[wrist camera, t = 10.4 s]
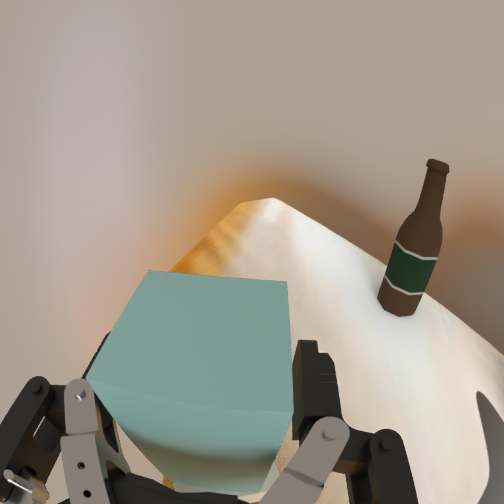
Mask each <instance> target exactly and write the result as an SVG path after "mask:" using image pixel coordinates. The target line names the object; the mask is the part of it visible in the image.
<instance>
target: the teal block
mask: <svg viewBox="0 0 504 504" xmlns="http://www.w3.org/2000/svg"><path fill="white" fill-rule="evenodd" d="M86 379H87V381H88V382H89V384H90V386H91V387H92V389H93V390H94V392H95V393H96V395H97V396H98V397H99V399H100V400H101V402H102V403H103V405H104V406H105V407H106V409H107V410H108V412H109V413H110V414H111V416H112V417H113V418H114V420H115V421H116V422H117V423H118V425H119V426H120V427H121V428H122V430H123V431H124V432H125V433H126V435H127V436H128V437H129V438H130V439H131V441H132V442H133V443H134V444H135V445H136V446H137V447H138V449H139V450H140V451H141V452H142V453H143V454H144V455H145V456H146V458H147V459H148V460H149V461H150V462H151V463H152V464H153V465H154V466H155V467H156V468H157V469H158V470H159V471H160V472H161V473H162V474H163V475H164V476H165V477H166V478H167V479H168V480H169V481H173V482H178V483H183V484H188V485H193V486H199V487H205V488H212V489H220V490H229V491H240V492H255V493H259V492H260V490H261V488H262V486H263V484H264V482H265V479H266V477H267V475H268V473H269V471H270V469H271V466H272V464H273V462H274V460H275V457H276V455H277V453H278V450H279V448H280V445H281V443H282V441H283V438H284V436H285V433H286V431H287V428H288V426H289V423H290V421H291V418H292V415H293V413H294V407H293V379H292V357H291V338H290V320H289V305H288V290H287V282H286V281H271V280H257V279H243V278H230V277H218V276H206V275H194V274H183V273H172V272H162V271H152V270H149V271H148V272H147V274H146V275H145V277H144V279H143V280H142V282H141V283H140V285H139V286H138V288H137V290H136V291H135V293H134V294H133V296H132V297H131V299H130V301H129V302H128V304H127V305H126V307H125V309H124V310H123V312H122V314H121V315H120V317H119V319H118V321H117V322H116V324H115V325H114V327H113V329H112V331H111V332H110V334H109V336H108V337H107V339H106V341H105V343H104V344H103V346H102V348H101V350H100V352H99V353H98V355H97V357H96V359H95V361H94V363H93V364H92V366H91V368H90V370H89V372H88V374H87V376H86Z"/></svg>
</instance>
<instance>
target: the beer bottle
mask: <svg viewBox="0 0 504 504" xmlns="http://www.w3.org/2000/svg"><path fill="white" fill-rule="evenodd" d="M426 165H427V167H428V169H427V173H426V177H425V181H424V185H423V188H422V191H421V195H420V198H419V202H418V204H417V206H416V209H415V211H414V212H412V214H410V215H409V216H408V217H407V219H406V220H405V221H404V223H403V224H402V226H401V227H400V229H399V232H398V234H397V237H396V240H395V243H394V247H393V250H392V253H391V257H390V260H389V263H388V266H387V269H386V272H385V275H384V278H383V281H382V284H381V287H380V290H379V294H378V300H379V302H380V304H381V305H382V307H383V309H384V310H386V311H388V312H390V313H392V314H394V315H396V316H398V317H400V316H409V315H413V314H414V312H415V310H416V308H417V306H418V304H419V302H420V300H421V298H422V295H423V293H424V291H425V288H426V286H427V284H428V281H429V279H430V276H431V274H432V271H433V269H434V266H435V263H436V261H437V258H438V254H439V251H440V247H441V244H442V226H441V222H440V211H441V205H442V200H443V194H444V189H445V182H446V176H447V174H448V173H449V165H448V164H446V163H444V162H441V161H438V160H435V159H429V160H428V162H427V164H426Z"/></svg>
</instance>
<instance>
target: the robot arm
mask: <svg viewBox="0 0 504 504" xmlns="http://www.w3.org/2000/svg"><path fill="white" fill-rule="evenodd" d="M111 331H112V330H111ZM111 331H110V332H111ZM110 332H109V333H108V334H107V335H106V336H105V338H104V339H103V341H102V343H101V345H100V346H99V348H98V350H97V352H96V353H95V355H94V356H93V358H92V360H91V362H90V364H89V365H88V367H87V369H86V371H85V373H84V374H83V376H82V378H81V379H75V380H73V381H71V382H69V384H68V385H50V384H49V382H48V381H47V380H46V379H45V378H44V377H41V376H36V377H33V378H32V379H30V380H29V381H28V382H27V384H26V385H25V387H24V388H23V390H22V391H21V393H20V394H19V396H18V397H17V399H16V400H15V402H14V403H13V405H12V406H11V408H10V410H9V411H8V413H7V414H6V416H5V418H4V419H3V421H2V423H1V424H0V502H1V503H3V504H46V500H48V499H49V497H50V495H49V492H48V491H47V489H46V486H45V483H46V481H47V479H48V477H49V475H50V472H51V470H52V468H53V466H54V464H55V462H56V460H57V458H58V456H59V453H60V452H62V459H63V466H64V473H65V478H66V484H67V489H68V493H69V498H68V499H66V500H64V501H62V502H60V503H58V504H251V503H248V502H246V501H244V500H240V499H238V495H230V494H221V493H214V492H190V493H181V492H177V491H174V490H172V489H170V488H168V487H166V486H164V485H162V484H160V483H158V482H156V481H154V480H153V479H149V478H145V477H142V476H139V475H136V474H133V473H131V471H130V468H129V466H128V463H127V462H126V460H125V458H124V456H123V453H122V449H121V445H120V440H119V436H118V431H117V427H116V421H115V420H114V418H113V417H112V416H111V414H110V413H109V412H108V410H107V409H106V407H105V406H104V405H103V403H102V402H101V400H100V399H99V397H98V396H97V395H96V393H95V392H94V390H93V389H92V387H91V386H90V384H89V382H88V381H87V379H86V376H87V374H88V372H89V370H90V368H91V366H92V364H93V363H94V361H95V359H96V357H97V355H98V353H99V352H100V350H101V348H102V346H103V344H104V343H105V341H106V339H107V337H108V336H109V334H110ZM335 374H336V372H335V366H334V362H333V360H332V359H331V357H330V356H329V354H328V353H318V345H317V341H316V340H298V343H297V347H296V351H295V355H294V359H293V364H292V379H293V407H294V413H293V415H292V440H299V449H298V450H297V452H296V453H295V455H294V456H293V458H292V459H291V461H290V462H289V464H288V465H287V466H286V468H285V469H284V470H283V472H282V473H281V474H280V476H279V477H278V478H277V480H276V481H275V482H274V484H273V485H272V486H271V487H270V489H269V490H268V491H267V492H266V494H265V495H264V496H263V497H262V499H261V500H260V501H259V502H258V503H257V504H314V503H315V502H316V500H317V499H318V497H319V495H320V494H321V492H322V490H323V488H324V483H325V481H326V479H327V478H328V476H329V474H330V473H331V471H334V472H338V473H343V474H345V476H346V482H347V489H348V496H349V503H350V504H418V499H417V494H416V490H415V486H414V481H413V477H412V473H411V469H410V465H409V462H408V458H407V454H406V451H405V447H404V444H403V440H402V438H401V436H400V435H399V434H398V433H397V432H396V431H394V430H391V429H382V430H379V431H377V432H376V433H375V434H373V433H368V432H363V431H359V430H355V429H353V428H351V427H350V426H349V425H347V424H346V422H345V421H344V419H343V417H342V413H341V406H340V399H339V392H338V385H337V378H336V375H335ZM43 417H45V418H44V420H43V422H42V423H41V425H40V427H39V429H38V430H37V432H36V434H35V436H34V437H33V434H34V432H35V431H36V429H37V427H38V425H39V424H40V422H41V420H42V418H43Z"/></svg>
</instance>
